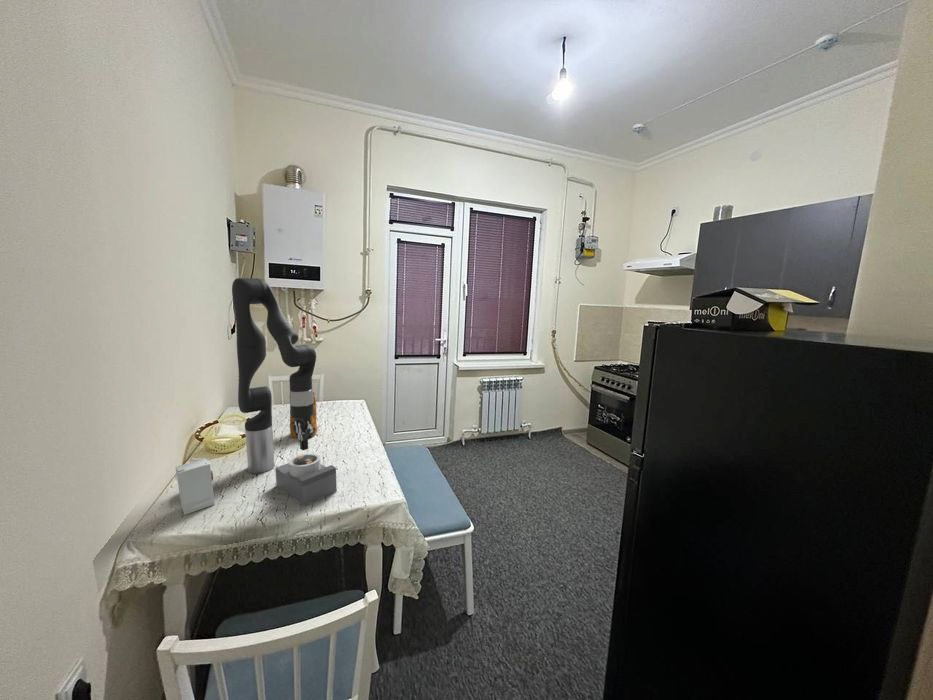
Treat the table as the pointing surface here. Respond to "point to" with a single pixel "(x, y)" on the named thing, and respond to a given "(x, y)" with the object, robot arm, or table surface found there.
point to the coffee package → (313, 418)
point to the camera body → (306, 479)
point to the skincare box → (195, 485)
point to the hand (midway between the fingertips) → (304, 449)
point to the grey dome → (304, 460)
